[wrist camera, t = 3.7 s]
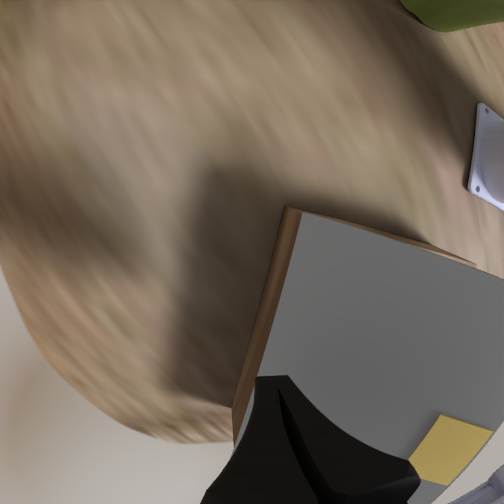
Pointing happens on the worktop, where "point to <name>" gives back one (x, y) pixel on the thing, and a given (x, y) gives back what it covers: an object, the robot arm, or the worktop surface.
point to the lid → (392, 347)
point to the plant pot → (456, 13)
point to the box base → (273, 294)
